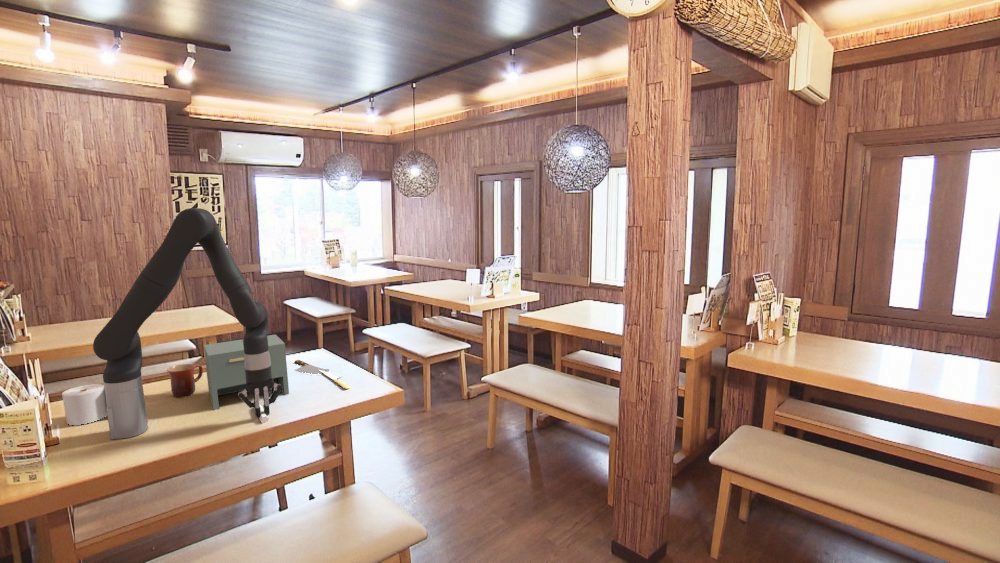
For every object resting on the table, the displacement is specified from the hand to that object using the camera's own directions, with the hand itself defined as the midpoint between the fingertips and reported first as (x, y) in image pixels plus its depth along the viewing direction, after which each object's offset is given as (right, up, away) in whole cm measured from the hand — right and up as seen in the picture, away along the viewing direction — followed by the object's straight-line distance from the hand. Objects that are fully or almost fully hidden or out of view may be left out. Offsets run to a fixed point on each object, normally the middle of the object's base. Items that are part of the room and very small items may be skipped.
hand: (262, 417), depth 164 cm
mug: (-39, +2, +24) cm, 46 cm away
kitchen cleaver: (-5, +6, +50) cm, 50 cm away
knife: (+10, +5, +38) cm, 40 cm away
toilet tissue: (-58, -1, +3) cm, 58 cm away
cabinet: (-15, +2, +21) cm, 26 cm away
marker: (-3, 0, +4) cm, 5 cm away
